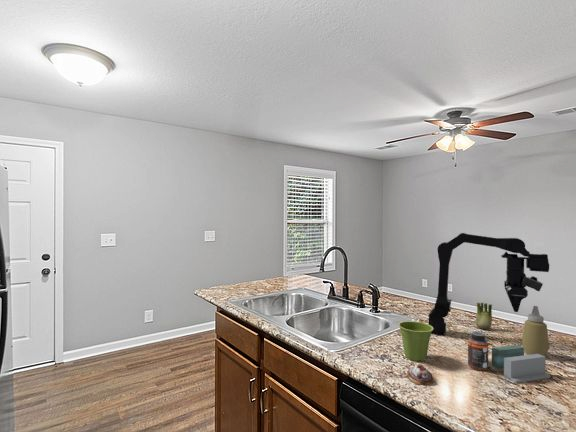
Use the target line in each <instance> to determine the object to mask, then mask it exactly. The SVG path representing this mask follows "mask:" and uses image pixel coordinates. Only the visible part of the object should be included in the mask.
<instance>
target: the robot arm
mask: <svg viewBox="0 0 576 432" xmlns="http://www.w3.org/2000/svg"><path fill="white" fill-rule="evenodd" d="M464 243H465V244H466V243H467V244H471V245H472V244H474V245H479V246H486V247H491V248H499V249H501V250H504V253H503V254H501V255H500V256H501V258H503V259H506V270H505V273H506V280H504V281H503V282H504V283H503V286H504V290H505V292H506V294H507V295H506V296H507V297H508V300H509V303H510V305H511V306H512V310H513V312H514V313H518V312H519V310H520V306H521V302H522V300H523V299H526V298H527V297H528V295H529V294H528V289H527V287H528V288H530V289H533V290H535V291H537V292H540V291H541V289H542V287H543V285H544V283H542V282H541V281H539V280H538V277H535V276H533V275H532V276H530V277H529V276H528V277H527V274H525V268H526V269H529V271H530V272H537V273H538V272H539V273H542V272H543V273H549V271H550V262H549V255H548V254H547V253H531V252H530V251H528V250H527V248H526V243H525V242H524V241H523V240H522V239H520V238H518V237H491V236H485V235H484V236H483V235H476V234H471V233H466V232H461V233H458V235H457V236H455V237H454V238H452V239H451V240H448V241H444V242H442V243H440V244H439V245H438V246H437V255H438V256H437V257H438V262H439V270H438V288H437V296H436V300H435V304H434V308H432V309H431V310H430V312H429V313H428V323H427V324H428V325H430V326H432V327H433V331H432V332H431V335H436V336H441V337H442V336H443V337H444V336H445V334H446V333H447V322H446V319H445V318H446V317H447V316H448V315H449V313H451V312H452V305H451V304H452V299H449V296H448V292H449V291H448V290H449V273H450V263H451V259H452V255H453V251H454V250H455V249H456V248H458V247H459V246H461V245H463V244H464ZM508 252H510V253H508ZM518 254H520V255H522V256H518Z"/></svg>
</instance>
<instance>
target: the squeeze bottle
mask: <svg viewBox="0 0 576 432" xmlns="http://www.w3.org/2000/svg"><path fill="white" fill-rule="evenodd" d="M538 306H539V305H538ZM538 306H537V305H533V306H532V311H531V313H530V314H528V315H527V320H525V321H524V324H523V331H522V332H523V333H522V340H521V344H522V347H524V353H525V355H532V354H540V355H542V356H545V357H546V356H547V354H548V352H549V350H550V341H549V333H548V325H547V324H546V322H544V317H543V316H542V315H541V314H540V310H539V307H538Z"/></svg>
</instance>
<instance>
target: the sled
mask: <svg viewBox="0 0 576 432" xmlns="http://www.w3.org/2000/svg"><path fill="white" fill-rule="evenodd" d="M524 355H525V349H524V347H523V345H522V346H521V345H519V344H514V345H504V346H495V347H491V352H488V368H490V369H493V370H495V371H496V372H501V371H502V372H504V358H507V357H515V356H524Z"/></svg>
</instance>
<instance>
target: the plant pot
mask: <svg viewBox="0 0 576 432" xmlns="http://www.w3.org/2000/svg"><path fill="white" fill-rule="evenodd" d="M428 324H429V323H424V322H420V321H412V320H409V321H408V320H407V321H400V322H398V325H397V326H398V327H399V330H400V334H401V339H402V346H403V353H404V356H405V357H406V358H407V359H408V360H411V361H414V362H416V361H417V362H419V361H422V362H423V361H426V360H427V359H428V357H427V356H428V352H429V351H428V350H429V345H430V339H431V336H432V334H431V332H432V331H433V327H432V326H430V325H428Z"/></svg>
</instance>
